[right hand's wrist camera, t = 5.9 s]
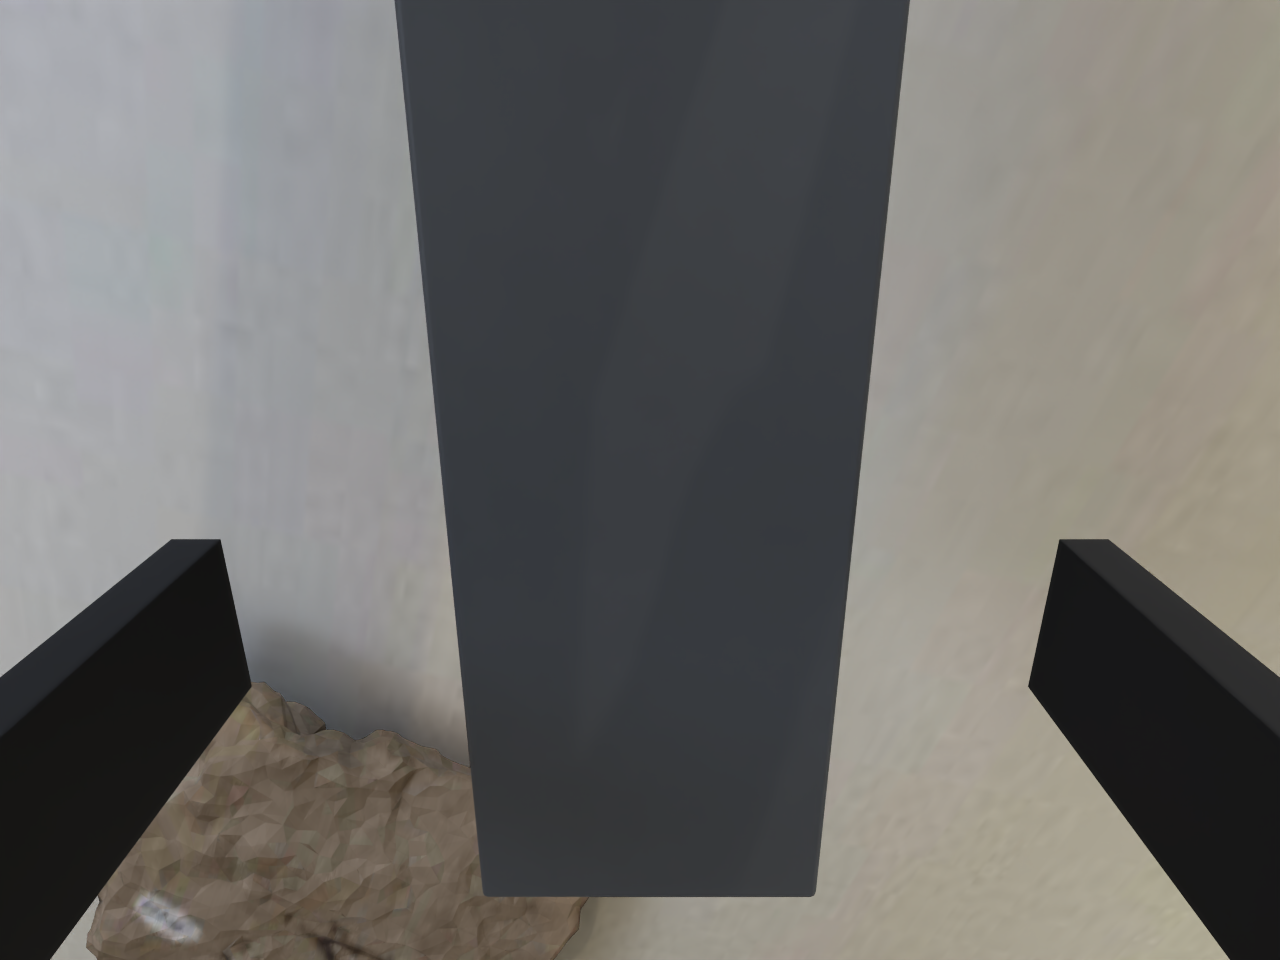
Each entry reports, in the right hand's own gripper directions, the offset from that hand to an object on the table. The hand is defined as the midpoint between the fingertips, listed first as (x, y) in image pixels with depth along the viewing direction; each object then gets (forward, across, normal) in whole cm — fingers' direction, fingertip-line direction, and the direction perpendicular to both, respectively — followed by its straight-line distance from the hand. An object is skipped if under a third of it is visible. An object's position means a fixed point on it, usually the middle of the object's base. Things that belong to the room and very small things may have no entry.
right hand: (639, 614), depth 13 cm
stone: (+17, +12, +21) cm, 30 cm away
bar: (+7, 0, -10) cm, 12 cm away
